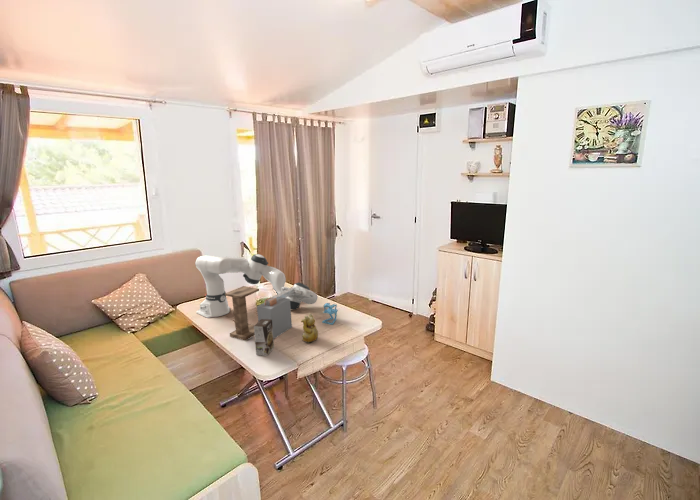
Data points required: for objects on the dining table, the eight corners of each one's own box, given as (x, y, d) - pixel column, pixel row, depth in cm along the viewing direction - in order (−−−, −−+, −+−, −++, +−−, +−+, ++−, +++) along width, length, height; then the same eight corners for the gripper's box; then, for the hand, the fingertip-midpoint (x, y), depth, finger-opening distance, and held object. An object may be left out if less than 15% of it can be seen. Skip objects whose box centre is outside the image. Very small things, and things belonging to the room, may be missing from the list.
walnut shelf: (230, 336, 202) (225, 293, 196) (247, 326, 214) (243, 286, 208) (245, 340, 197) (240, 296, 191) (262, 330, 209) (258, 288, 203)
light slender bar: (264, 305, 199) (264, 300, 199) (290, 291, 220) (290, 287, 219) (271, 306, 197) (270, 301, 197) (296, 292, 218) (296, 288, 217)
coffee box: (267, 356, 180) (265, 326, 176) (255, 355, 181) (253, 325, 177) (274, 347, 188) (272, 319, 185) (263, 346, 190) (261, 318, 186)
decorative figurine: (308, 335, 201) (307, 310, 197) (321, 337, 198) (320, 312, 194) (300, 343, 192) (298, 317, 189) (313, 345, 189) (312, 319, 186)
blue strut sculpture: (339, 320, 220) (339, 301, 217) (332, 325, 213) (331, 306, 210) (329, 317, 224) (328, 299, 221) (321, 322, 217) (321, 304, 214)
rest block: (259, 335, 202) (256, 306, 198) (278, 324, 217) (276, 296, 213) (273, 339, 197) (270, 309, 193) (291, 327, 212) (289, 298, 208)
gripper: (313, 301, 221) (301, 297, 209) (287, 296, 230) (274, 292, 218) (315, 291, 222) (304, 287, 210) (289, 287, 232) (277, 282, 220)
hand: (288, 289), depth 214 cm, fingers open, 8 cm apart
